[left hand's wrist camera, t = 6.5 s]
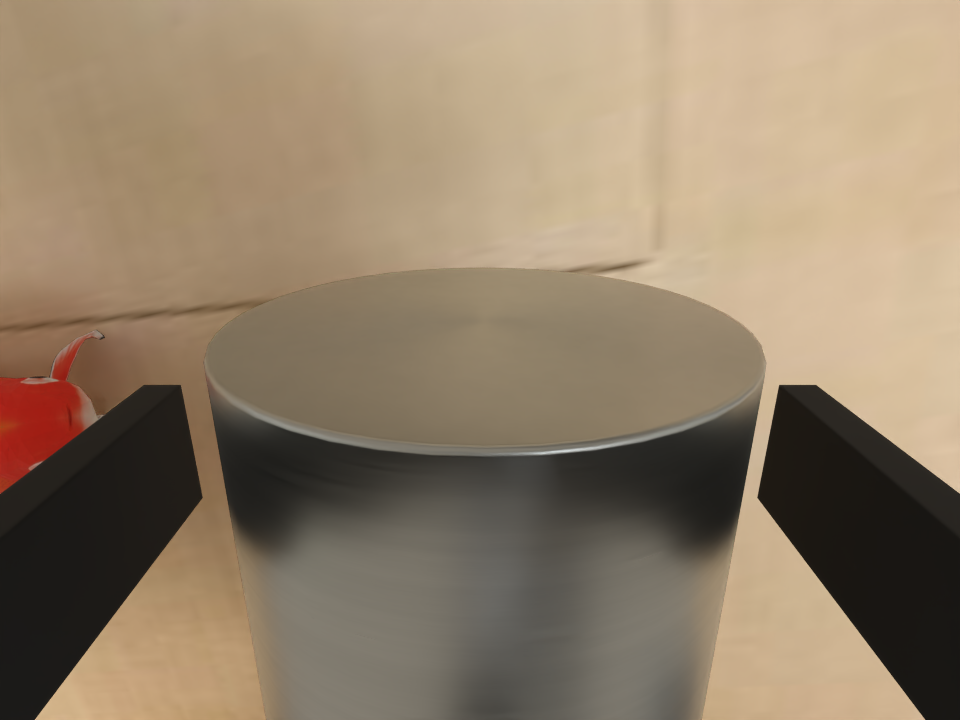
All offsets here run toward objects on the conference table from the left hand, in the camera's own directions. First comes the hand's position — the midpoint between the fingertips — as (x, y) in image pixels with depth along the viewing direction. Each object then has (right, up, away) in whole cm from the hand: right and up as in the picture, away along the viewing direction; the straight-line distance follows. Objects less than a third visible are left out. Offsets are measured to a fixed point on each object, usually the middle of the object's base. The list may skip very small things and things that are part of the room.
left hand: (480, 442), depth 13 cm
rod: (0, -8, +5) cm, 9 cm away
